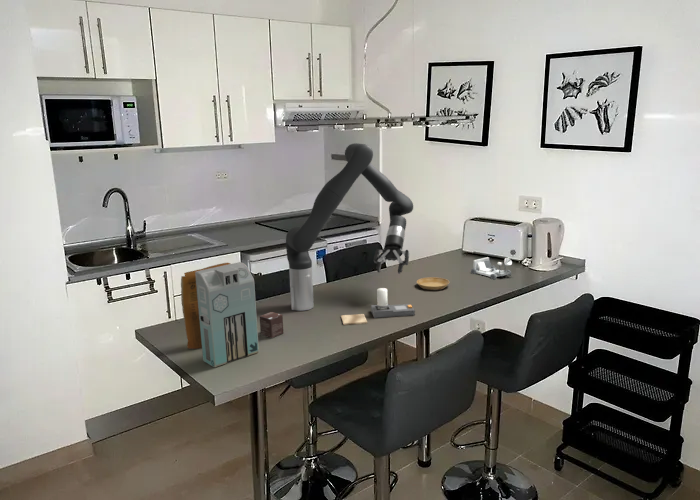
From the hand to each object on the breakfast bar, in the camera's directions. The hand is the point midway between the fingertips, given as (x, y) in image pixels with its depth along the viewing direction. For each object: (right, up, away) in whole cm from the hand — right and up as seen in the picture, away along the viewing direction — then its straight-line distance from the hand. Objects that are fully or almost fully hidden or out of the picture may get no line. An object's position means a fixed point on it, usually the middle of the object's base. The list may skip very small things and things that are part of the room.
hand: (388, 272), depth 227 cm
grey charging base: (+1, -16, -6) cm, 17 cm away
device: (-55, -26, -44) cm, 75 cm away
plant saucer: (+22, -8, +28) cm, 36 cm away
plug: (-3, -16, -6) cm, 18 cm away
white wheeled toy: (+54, -4, +44) cm, 70 cm away
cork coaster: (-14, -18, -13) cm, 26 cm away
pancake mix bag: (-64, -24, -32) cm, 75 cm away
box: (-44, -22, -25) cm, 55 cm away
